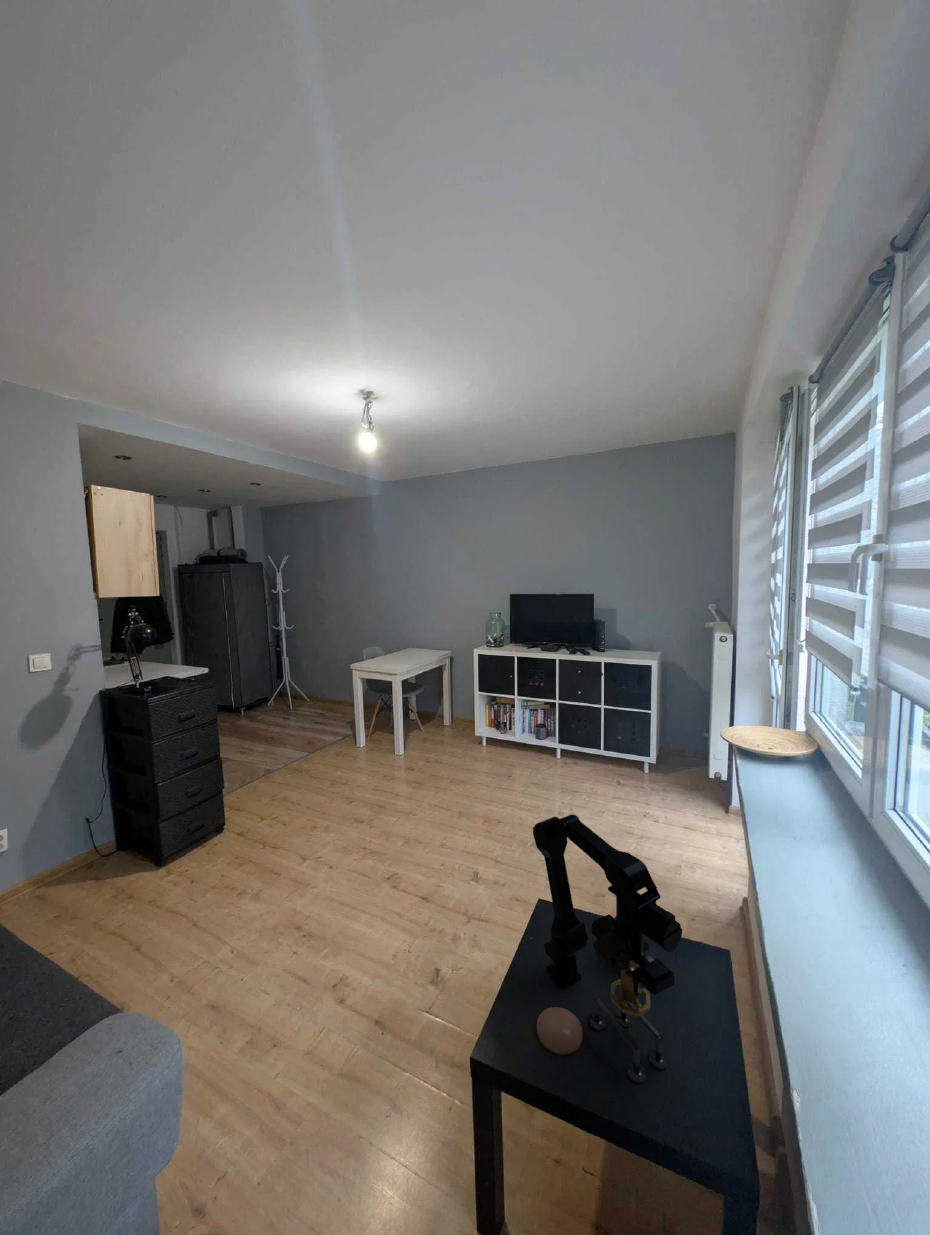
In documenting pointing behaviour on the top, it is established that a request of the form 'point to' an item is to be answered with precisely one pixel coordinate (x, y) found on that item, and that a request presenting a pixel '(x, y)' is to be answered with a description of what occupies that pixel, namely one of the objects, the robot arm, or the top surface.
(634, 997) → the octagonal handwheel knob
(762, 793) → the top surface
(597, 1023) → the zigzag metal pull handle
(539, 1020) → the coaster
